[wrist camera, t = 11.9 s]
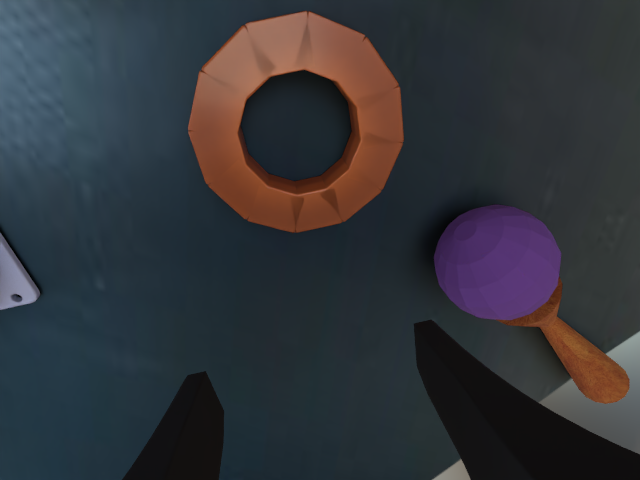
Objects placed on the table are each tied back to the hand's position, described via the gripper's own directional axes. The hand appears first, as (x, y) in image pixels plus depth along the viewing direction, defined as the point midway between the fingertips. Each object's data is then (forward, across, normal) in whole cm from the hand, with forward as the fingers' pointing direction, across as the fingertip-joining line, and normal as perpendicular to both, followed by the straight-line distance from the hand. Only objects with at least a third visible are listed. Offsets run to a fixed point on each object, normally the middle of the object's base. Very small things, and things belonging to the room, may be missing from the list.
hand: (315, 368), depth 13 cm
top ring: (+9, -1, -6) cm, 11 cm away
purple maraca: (+10, -14, +8) cm, 19 cm away
